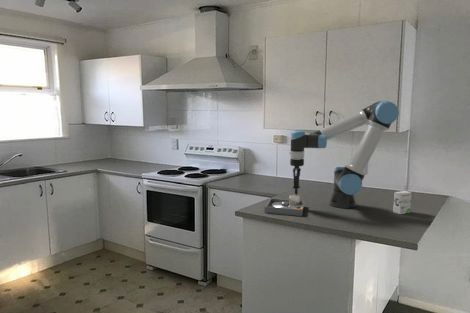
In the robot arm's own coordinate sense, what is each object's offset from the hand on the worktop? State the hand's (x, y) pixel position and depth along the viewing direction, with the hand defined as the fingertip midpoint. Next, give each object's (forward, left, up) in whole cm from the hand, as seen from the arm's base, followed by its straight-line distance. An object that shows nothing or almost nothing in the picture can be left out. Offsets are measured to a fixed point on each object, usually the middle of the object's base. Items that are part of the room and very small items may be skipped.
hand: (296, 199), depth 212 cm
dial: (+5, +5, -4) cm, 8 cm away
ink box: (-58, -10, -6) cm, 59 cm away
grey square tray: (+5, +5, -5) cm, 9 cm away
